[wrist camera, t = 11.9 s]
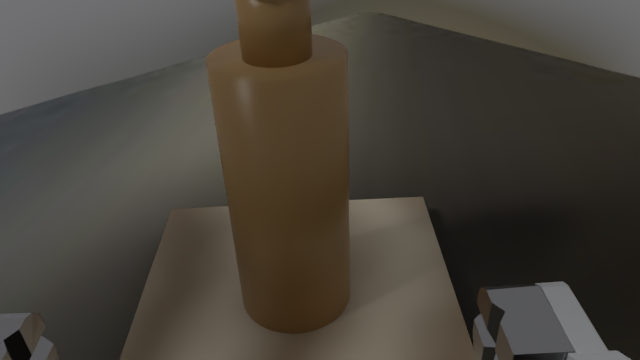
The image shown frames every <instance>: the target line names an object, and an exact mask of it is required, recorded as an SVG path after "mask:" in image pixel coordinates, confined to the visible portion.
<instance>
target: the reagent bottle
mask: <svg viewBox="0 0 640 360" xmlns="http://www.w3.org/2000/svg"><path fill="white" fill-rule="evenodd" d="M235 5H236V14H237V22H238V30H239V39H238V40H235V41H232V42H229V43H226V44H224V45H222V46H220V47H218V48H216V49H215V50H213V51H212V52H211V53H210V54H209V55H208V57H207V58H206V67H207V73H208V79H209V86H210V92H211V99H212V105H213V112H214V118H215V124H216V131H217V137H218V144H219V150H220V157H221V163H222V169H223V176H224V182H225V189H226V195H227V202H228V208H229V214H230V221H231V227H232V234H233V240H234V247H235V253H236V259H237V266H238V272H239V279H240V285H241V292H242V298H243V304H244V307H245V310H246V312H247V314H248V315H249V316H250V317H251V319H253V320H254V321H255V322H256V323H257V324H259V325H260V326H262V327H264V328H266V329H269V330H272V331H275V332H280V333H288V334H297V333H305V332H310V331H314V330H317V329H320V328H322V327H324V326H326V325H328V324H330V323H331V322H333V321H334V320H335V319H337V318H338V317H339V316H340V315H341V314H342V312H343V311H344V310H345V308H346V306H347V304H348V302H349V298H350V235H349V124H348V51H347V49H346V47H345V46H344V45H342V44H341V43H339V42H338V41H335V40H333V39H330V38H327V37H323V36H319V35H312V31H311V8H310V0H235Z"/></svg>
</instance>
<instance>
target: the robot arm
mask: <svg viewBox="0 0 640 360" xmlns="http://www.w3.org/2000/svg"><path fill="white" fill-rule="evenodd" d="M477 304H478V307H479V310H480V312H481V314H479V315H478V316H477V317H476V318H475V319H474V325H473V346H474V351H475V356H476V360H631V359H630V358H628V357H626V356H625V355H623V354H622V353H620V352H619V351H608V349H607V347H606V346H605V344H604V342H603V341H602V339H601V338H600V336H599V334H598V333H597V331H596V329H595V328H594V326H593V325H592V323H591V321H590V320H589V318H588V316H587V315H586V313H585V312H584V310H583V308H582V307H581V305H580V303H579V302H578V300H577V299H576V297H575V295H574V294H573V292H572V291H571V289H570V287H569V286H568V285H567V284H566V283H564V282H563V281H562V282H548V283H536V284H519V285H504V286H489V287H481V289H480V290H479V292H478V298H477ZM45 328H46V326H45V324H44V322H43V320H42V318H41V316H40V314H36V313H10V314H0V360H59V359H58V353H57V350H56V348H55V346H54V343H52V342H51V341H49V340H47V339H46V338H44V337H43V336H42V334H43V332H44V330H45Z"/></svg>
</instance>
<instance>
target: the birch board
mask: <svg viewBox="0 0 640 360" xmlns="http://www.w3.org/2000/svg"><path fill="white" fill-rule="evenodd" d="M349 235H350V298H349V302H348V304H347V306H346V308H345V310H344V311H343V312H342V314H341V315H340V316H339V317H338V318H337V319H335V320H334V321H333V322H331V323H330V324H328V325H326V326H324V327H322V328H320V329H317V330H314V331H310V332H305V333H297V334H288V333H280V332H275V331H272V330H269V329H266V328H264V327H262V326H260V325H259V324H257V323H256V322H255V321H254V320H253V319H251V317H250V316H249V315H248V314H247V312H246V310H245V307H244V304H243V298H242V292H241V285H240V279H239V272H238V266H237V259H236V253H235V247H234V240H233V234H232V227H231V221H230V214H229V208H228V206H221V207H200V208H179V209H171V212H170V215H169V218H168V221H167V224H166V227H165V229H164V232H163V235H162V238H161V241H160V244H159V247H158V250H157V253H156V255H155V258H154V261H153V264H152V267H151V270H150V273H149V276H148V279H147V281H146V284H145V287H144V290H143V293H142V296H141V299H140V302H139V305H138V307H137V310H136V313H135V316H134V319H133V322H132V325H131V328H130V331H129V333H128V336H127V339H126V342H125V345H124V348H123V351H122V354H121V357H120V359H119V360H476V356H475V351H474V348H473V345H472V342H471V339H470V336H469V333H468V330H467V327H466V324H465V321H464V318H463V315H462V312H461V309H460V306H459V303H458V301H457V298H456V295H455V292H454V289H453V286H452V283H451V280H450V277H449V274H448V271H447V268H446V265H445V262H444V259H443V256H442V253H441V250H440V247H439V244H438V241H437V238H436V235H435V232H434V229H433V226H432V223H431V220H430V217H429V214H428V211H427V208H426V205H425V202H424V199H423V197H407V198H386V199H366V200H349Z"/></svg>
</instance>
